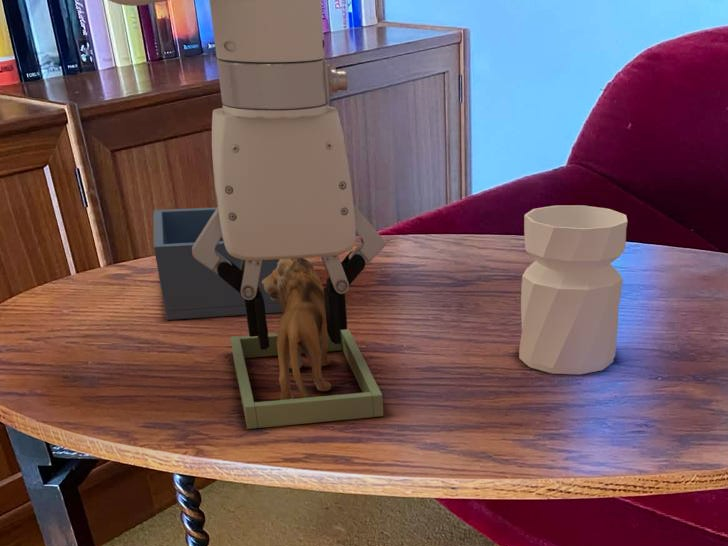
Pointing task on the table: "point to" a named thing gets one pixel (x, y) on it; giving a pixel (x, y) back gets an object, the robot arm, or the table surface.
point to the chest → (197, 269)
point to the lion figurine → (299, 322)
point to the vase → (571, 288)
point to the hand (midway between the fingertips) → (298, 339)
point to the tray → (312, 407)
